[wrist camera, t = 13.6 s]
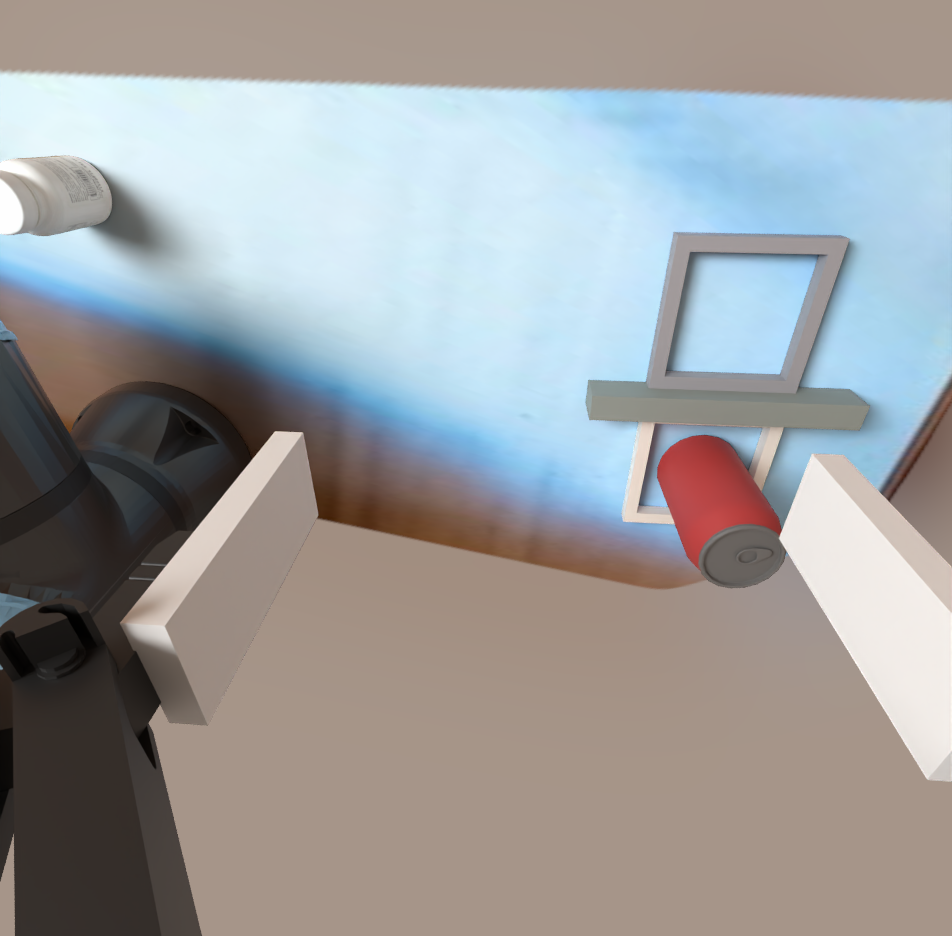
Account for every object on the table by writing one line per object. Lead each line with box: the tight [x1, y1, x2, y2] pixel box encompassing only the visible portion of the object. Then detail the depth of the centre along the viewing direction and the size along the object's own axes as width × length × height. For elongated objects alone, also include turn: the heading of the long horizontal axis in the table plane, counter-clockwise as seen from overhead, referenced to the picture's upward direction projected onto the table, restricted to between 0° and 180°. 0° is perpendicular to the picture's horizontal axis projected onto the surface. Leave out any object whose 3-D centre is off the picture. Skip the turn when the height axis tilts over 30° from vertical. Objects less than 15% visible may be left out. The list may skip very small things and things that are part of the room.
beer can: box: [657, 435, 786, 588], centre depth 42 cm, size 7×7×12 cm
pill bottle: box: [0, 155, 112, 236], centre depth 35 cm, size 4×4×8 cm
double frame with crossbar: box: [586, 232, 870, 524], centre depth 42 cm, size 20×24×3 cm
